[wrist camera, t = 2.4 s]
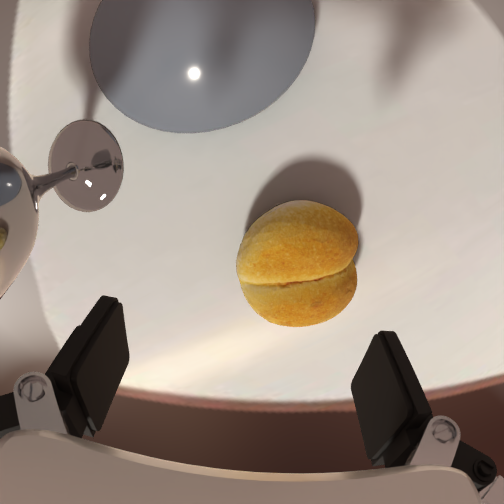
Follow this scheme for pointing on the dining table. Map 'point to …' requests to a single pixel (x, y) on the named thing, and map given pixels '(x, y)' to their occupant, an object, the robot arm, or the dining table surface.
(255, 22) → the plate
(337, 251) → the bread roll
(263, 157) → the dining table surface
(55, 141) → the wine glass
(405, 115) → the dining table surface
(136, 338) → the dining table surface
